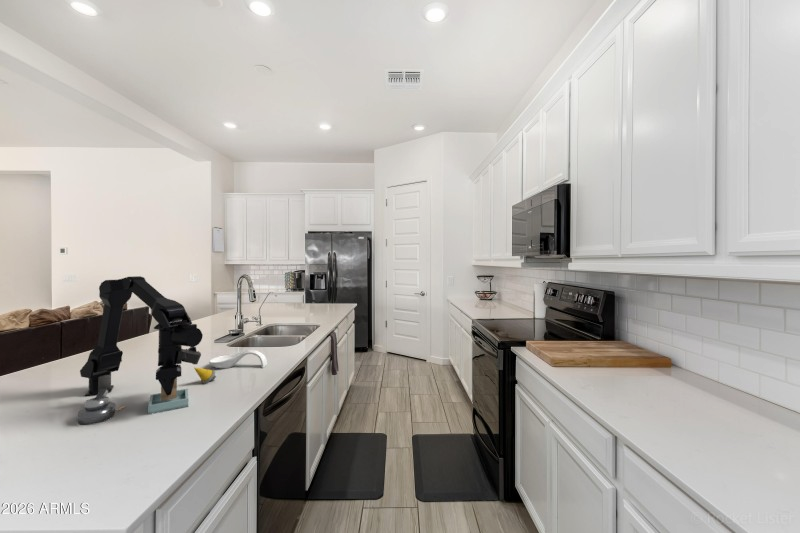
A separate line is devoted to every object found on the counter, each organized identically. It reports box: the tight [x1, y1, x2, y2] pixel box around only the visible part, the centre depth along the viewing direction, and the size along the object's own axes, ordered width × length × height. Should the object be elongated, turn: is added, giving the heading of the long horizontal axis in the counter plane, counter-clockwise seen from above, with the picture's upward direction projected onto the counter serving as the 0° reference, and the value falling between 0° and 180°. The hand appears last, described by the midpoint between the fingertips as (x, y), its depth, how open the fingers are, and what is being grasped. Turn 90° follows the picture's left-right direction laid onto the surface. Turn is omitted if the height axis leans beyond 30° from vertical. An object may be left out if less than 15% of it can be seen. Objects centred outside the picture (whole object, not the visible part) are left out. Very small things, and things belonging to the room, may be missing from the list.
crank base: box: [76, 401, 126, 426], centre depth 94 cm, size 9×10×3 cm
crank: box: [84, 374, 112, 411], centre depth 98 cm, size 16×5×5 cm, turn 35°
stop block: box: [160, 377, 178, 401], centre depth 103 cm, size 4×4×7 cm
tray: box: [147, 388, 189, 415], centre depth 103 cm, size 10×10×2 cm
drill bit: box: [193, 366, 217, 385], centre depth 121 cm, size 5×5×10 cm
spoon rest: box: [208, 349, 268, 370], centre depth 142 cm, size 24×12×7 cm, turn 93°
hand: (169, 392), depth 103 cm, fingers closed on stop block, 4 cm apart
